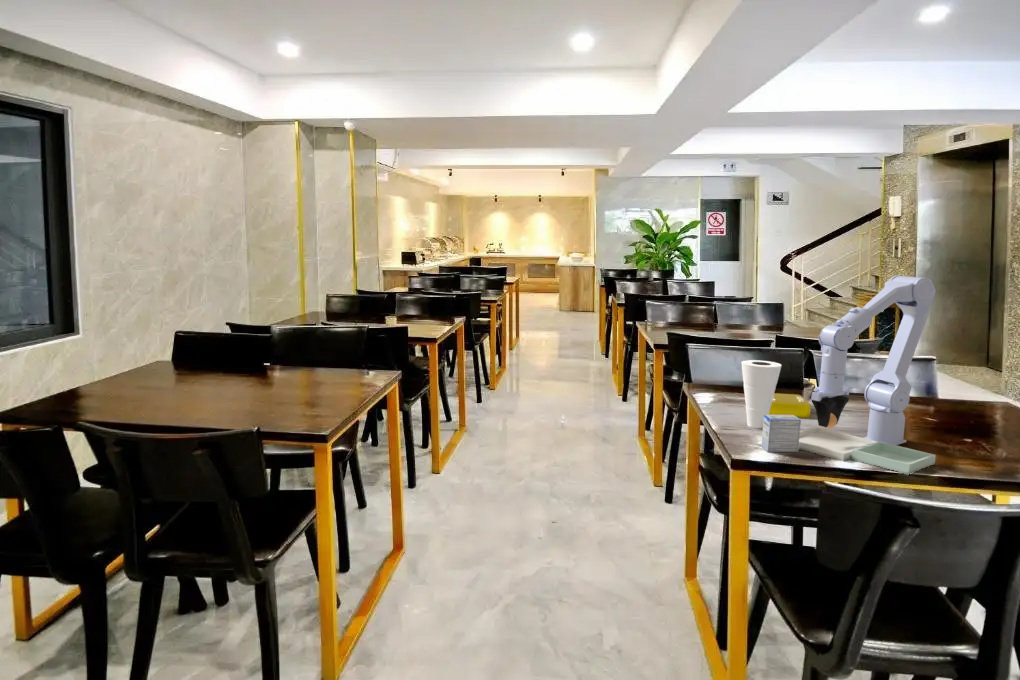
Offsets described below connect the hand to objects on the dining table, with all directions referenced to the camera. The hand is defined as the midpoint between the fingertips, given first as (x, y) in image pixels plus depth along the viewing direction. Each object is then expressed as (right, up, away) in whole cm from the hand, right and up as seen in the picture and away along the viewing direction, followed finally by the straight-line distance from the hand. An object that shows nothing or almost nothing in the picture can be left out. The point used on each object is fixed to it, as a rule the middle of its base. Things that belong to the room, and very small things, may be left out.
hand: (827, 424), depth 189 cm
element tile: (+2, -1, +39) cm, 39 cm away
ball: (0, +1, 0) cm, 1 cm away
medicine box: (-13, -6, -3) cm, 15 cm away
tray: (+1, -6, +1) cm, 6 cm away
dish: (+11, -8, -11) cm, 17 cm away
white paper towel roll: (-12, -3, +19) cm, 23 cm away
